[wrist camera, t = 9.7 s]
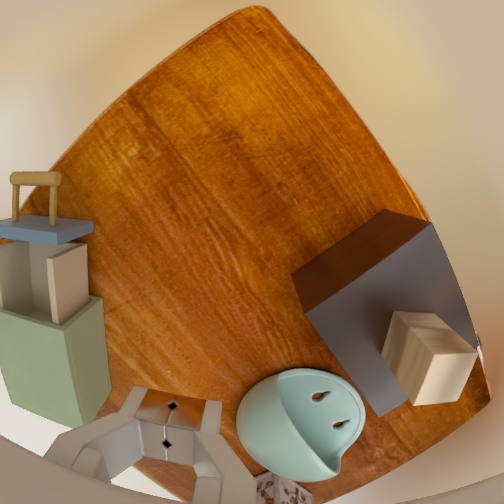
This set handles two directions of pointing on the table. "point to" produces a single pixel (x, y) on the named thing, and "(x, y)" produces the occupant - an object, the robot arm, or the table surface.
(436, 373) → the block
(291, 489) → the decorative jar
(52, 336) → the cabinet
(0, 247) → the drawer
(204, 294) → the table surface
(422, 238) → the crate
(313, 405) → the planter
